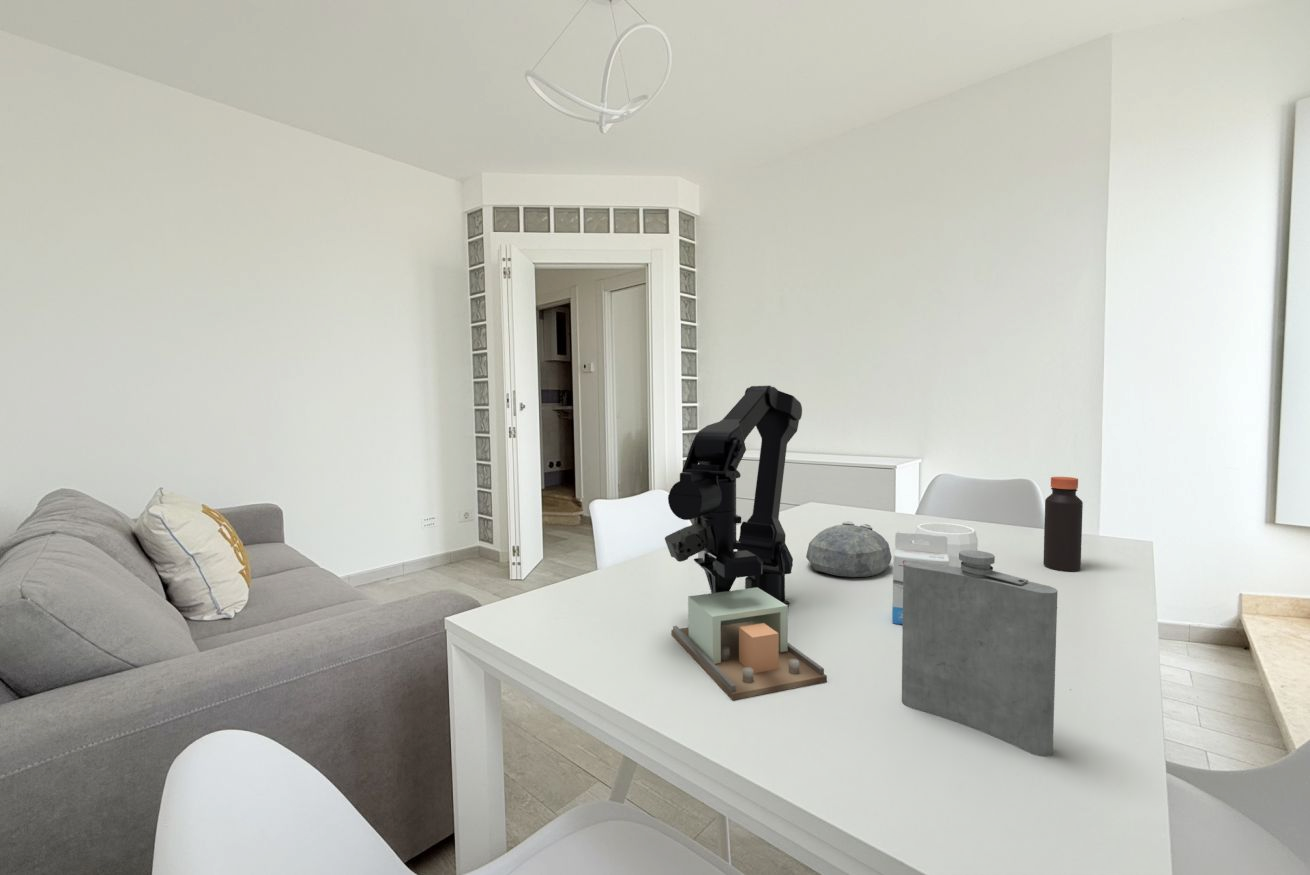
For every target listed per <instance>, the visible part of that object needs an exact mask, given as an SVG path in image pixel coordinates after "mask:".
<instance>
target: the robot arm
mask: <svg viewBox="0 0 1310 875" xmlns="http://www.w3.org/2000/svg"><path fill="white" fill-rule="evenodd" d="M802 416H803V407H802V403H801V402H800V401H799V399H797V397H795V395H792V394H789V393H786V392H784V391H780V390H779V389H778V388H776V387H775V386H771V385H750V386H749V387H747V388H746V389H745V391H744V394H743V396H742V397H741V398H740V399H739V400H738V402H737V403H736V404H735V405H734V406H733V407H732V408H731V410H730V411H729V412H727V414H726V415H725V416H724V417H723V418H722V419H721V420H720V421H718V422H714V423H711V424H708V425H706V426H704V427H703V428H701V429H700V430H698V431H697V433H696V434H695V436H694V438H693V440H692V441H691V442H692V443H691V445H690V447H689V448H690V449H689V450H688V451H689V452H688V453H687V456H686V459H685V462H684V464H683V468H682V471H681V472H680V473H679V481H677V482H675V483H674V484H673V486H672V487H671V488H670V491H669V494H668V496H667V499H668V500H667V501H668V506H669V509H670V510H671V511H672V513H673V514H674V515H675V517H677V518H678V519H681V520H683V521H690V520H693V524H691V525H689V526H685V527H682V528H681V529H678V530H676V531H675V532H672V533H671V534H669V535H666V536H665V537H664V541H665V544H666V546H667V550H668V552H669V554H670V557H671V558H674V559H675V560H676V561H677V562H685V561H686V560H688V559H689V558H690V557H692V556H695V555H697V557H696V558H694V559H693V561H694V562H695V564H697V565H698V566H699V567H700V568H702V569H703V570H704V574H705V576H706V579H707V581H708V586H709V590H710V593H718V592H725V591H731V589H732V587H733V585H734V583H735V581H736V580H737V579H738V578H744V579H745V582H744V583H745V584H744V585H745V587H744V589H748V588H756V587H758V588H759V589H761V590H763V591H764V592H766V593H767V594H769V595H771V596H772V597H774V598H776V599H777V600H779V601H781V602H782V603H784V604H786V605H787V606H788V605H790V603H791V602H790V601H789V600H787V599H786V587H785V586H786V575H790V574H792V570H793V564H794V562H793V561H794V559H793V558H794V557H793V556H792V554H791V551H790V550H789V548H788V546H787V544H786V532H785V530H784V528H783V526H782V524H781V522H780V521H781V520H780V519H779V518H780V509H781V508H780V507H781V500H782V490H783V482H784V474H785V473H784V472H785V465H786V457H787V449H788V446H787V445H788V443H789V442H790V441H791V440H792V438H793V437H794V435H796V433H797V432H798V428H799V422H800V420H801V419H802ZM755 428H756V430H757V432H758V434H759V436H760V438H761V442H760V450H759V451H760V452H759V461H758V467H757V478H756V482H755V483H756V485H755V491H754V500H753V508H752V514H751V516H749V518H748V519H747V521H742V516H741V515H739V514H737V479H740V478H741V477H742V476H741V473H740V471H739V470H737V469H738V467H739V465H740V463H741V461H742V459H743V457H744V455H745V453H746V451H747V448H746V443H745V441H746V439H747V437H748V436H749V435H750V433H751V432H752V431H753V430H754V429H755ZM737 524H740V527H739V537H738V540H737ZM735 550H736V551H735Z"/></svg>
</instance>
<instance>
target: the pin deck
mask: <svg viewBox="0 0 1310 875" xmlns="http://www.w3.org/2000/svg"><path fill="white" fill-rule="evenodd" d="M747 625H751V621H750V622H744V623H737V624H731V625H724V626H721V663H717V664H714V663H713V662H712V661H711V660H710V659H709V658H708V657H707V656H706V655H705V654H704V653H703V652H702V651H701V650H700V649H699V648H698V647H697V646H696V645H695V644H694V643H693V642H692V641H691V640H690V639H689V629H688V627H681V628H680V627H679V626H678V625H672V629H670V630H671V631H670V632H671V636H672V637H673V638H674V639H675V640H676V641H677V642H678V644H679V645H680V646H681V647H682V648H683V649H684V650H685V651H686V652H687V653H688V654H689V655H690V656H691V658H692V659H694V661H695V662H696V663H697V664H698V665H699V666H700V668H702V669H703V670H704V672H705V673H706V674H707V675H708V676H709V677H710V678H711V679H712V680H713V681H714V682H715V683H716V684H717V686H718V687H720V689H722V690H723V692H724V693H725V694H726V695H727V696H728V697H729V698H730V699H731V700H732V701H735V700H736V701H737V700H741V699H747V698H751V697H756V696H757V697H758V696H762V695H767V694H771V693H777V692H782V691H786V690H790V689H792V690H793V689H796V688H801V687H807V686H811V685H817V684H822V683H827V682H828V680H827V679H828V676H827V675H826V674H825V668H824V667H823V666H821V665H820V664H818V663H817V662H816V661H814V660H813V659H811V658H810V657H809V656H808V655H806V654H804V653H803V652H802V651H800V650H799V649H798V648H796V647H795V646H794V645H792V644H791V643H789V642H788V651H786V652H779V669H774V670H769V671H764V672H759V673H753V669H752V668H750V667H745V666H744V665H743V664H742V663H740V662H739V627H741V626H747Z"/></svg>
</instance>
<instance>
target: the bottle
mask: <svg viewBox="0 0 1310 875" xmlns="http://www.w3.org/2000/svg"><path fill="white" fill-rule="evenodd" d="M1078 489H1079V478H1077V477H1071V476H1052V477H1050V490H1051V493H1050V495H1048V496H1047V497H1046V498H1045V500H1044V530H1043V531H1044V532H1043V533H1044V536H1043V561H1042V562H1043V566H1044V567H1045V568H1048V567H1049V568H1048V569H1051V568H1052V569H1051V570H1055V569H1056V570H1055V571H1060V570H1063V571H1062V572H1078V571H1080V570H1081V568H1082V536H1083V534H1082V533H1083V511H1084V510H1083V508H1084V506H1083V505H1084V502H1083V501H1082V499H1081V498H1079V496H1078V495H1077V492H1078Z"/></svg>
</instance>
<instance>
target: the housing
mask: <svg viewBox="0 0 1310 875" xmlns="http://www.w3.org/2000/svg"><path fill="white" fill-rule="evenodd" d="M687 600H688V602H687V605H688V607H687V608H688V609H687V610H688V611H687V612H688V616H687V617H688V618H687V619H688V626H687V628H688V629H689V639H690V640H691V641H692V642H693V643H694V644H695V645H696V646H697V647H698V648H699V649H700V650H701V651H702V652H703V653H704V654H705V655H706V656H707V657H708V658H709V659H710V660H711V661H712V662H713V663H714V664H717V663H721V626H724V625H731V624H737V623H744V622H750V621H751V625H754V624H760V623H765V624H766V625H767V626H769V627H770V628H772V629H773V630H775V631H776V632H777V633H779V652H786V651H788V643H789V641H788V639H789V638H788V636H789V635H788V634H789V633H788V632H789V629H788V628H789V627H788V626H789V625H788V624H789V623H788V622H789V621H788V620H789V618H788V616H789V614H788V613H789V611H788V608H789V607H788V605H786V604H784V603H782V602H781V601H779V600H777V599H776V598H774V597H772V596H771V595H769V594H767V593H766V592H764V591H763V590H761V589H759V588H758V587H756V588H748V589H745V588H742V589H733V590H730V591H725V592H718V593H711V592H710V593H704V594H695V595H690V596H689V595H688V596H687Z"/></svg>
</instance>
